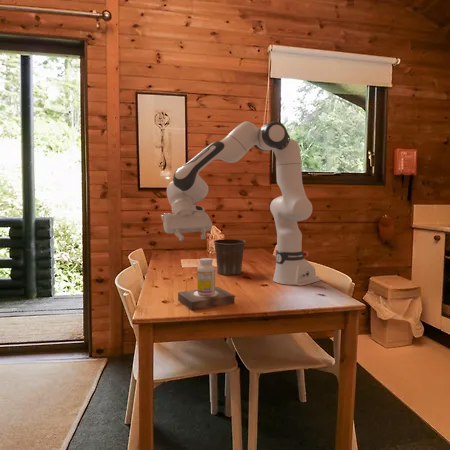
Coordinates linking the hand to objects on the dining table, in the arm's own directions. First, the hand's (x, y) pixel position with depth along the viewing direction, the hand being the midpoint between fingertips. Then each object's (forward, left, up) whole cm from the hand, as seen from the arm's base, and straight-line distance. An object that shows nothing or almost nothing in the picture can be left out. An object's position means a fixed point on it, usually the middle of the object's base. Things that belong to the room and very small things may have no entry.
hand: (193, 239), depth 137 cm
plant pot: (-30, -24, -22) cm, 45 cm away
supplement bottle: (0, +12, -19) cm, 23 cm away
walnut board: (0, +12, -22) cm, 25 cm away
